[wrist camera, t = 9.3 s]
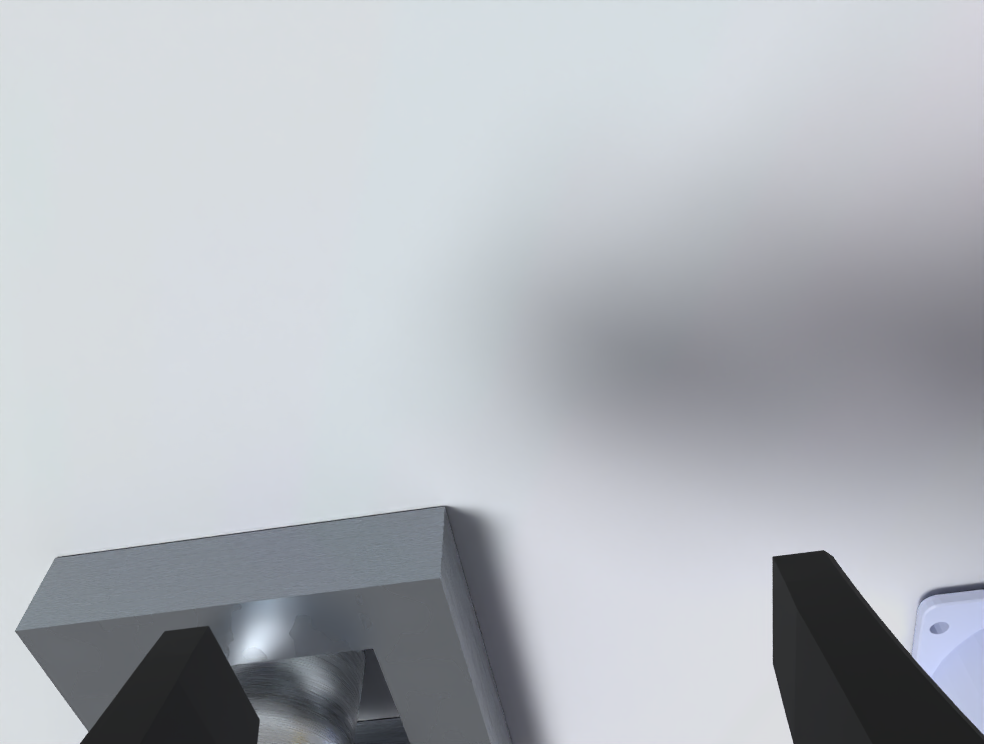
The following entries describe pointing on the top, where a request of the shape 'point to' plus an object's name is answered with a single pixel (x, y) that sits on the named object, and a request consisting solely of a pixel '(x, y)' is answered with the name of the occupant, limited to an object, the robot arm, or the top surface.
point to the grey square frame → (283, 616)
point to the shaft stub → (305, 697)
